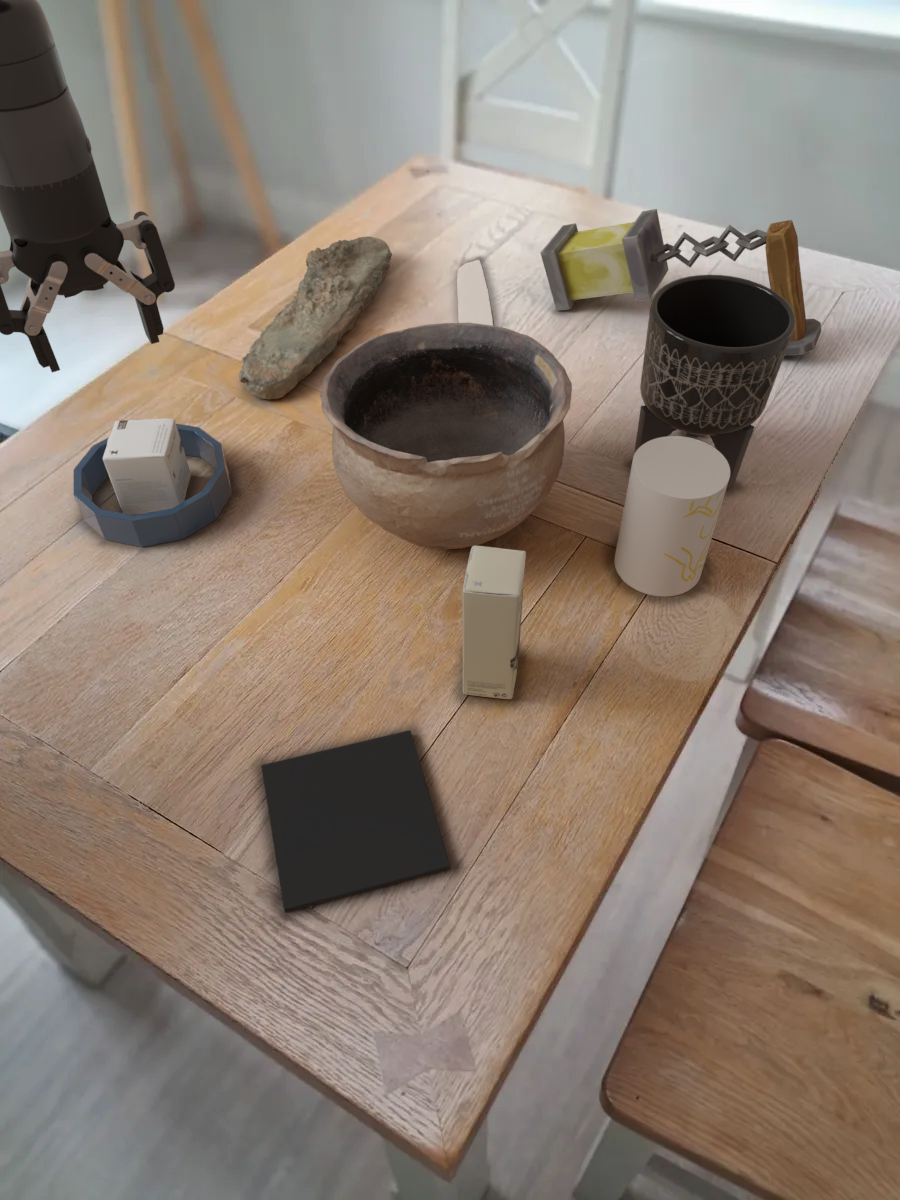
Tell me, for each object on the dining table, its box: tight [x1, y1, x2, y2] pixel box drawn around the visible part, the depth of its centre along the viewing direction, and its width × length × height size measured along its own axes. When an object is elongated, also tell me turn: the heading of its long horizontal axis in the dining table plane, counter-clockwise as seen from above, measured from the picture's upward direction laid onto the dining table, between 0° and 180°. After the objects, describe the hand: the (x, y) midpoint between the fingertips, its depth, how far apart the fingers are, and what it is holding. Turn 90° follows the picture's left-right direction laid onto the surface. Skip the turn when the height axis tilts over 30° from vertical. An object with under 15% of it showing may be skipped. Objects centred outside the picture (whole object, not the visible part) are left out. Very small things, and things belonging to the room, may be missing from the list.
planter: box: [633, 274, 796, 491], centre depth 88 cm, size 13×13×18 cm
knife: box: [456, 259, 494, 326], centre depth 112 cm, size 1×34×5 cm
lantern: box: [540, 208, 822, 357], centre depth 109 cm, size 8×17×30 cm
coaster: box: [260, 729, 451, 913], centre depth 68 cm, size 12×12×1 cm
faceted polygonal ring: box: [73, 423, 233, 548], centre depth 91 cm, size 15×15×4 cm
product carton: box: [103, 417, 192, 515], centre depth 89 cm, size 6×6×7 cm
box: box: [461, 545, 527, 700], centre depth 72 cm, size 5×4×13 cm
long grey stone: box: [238, 235, 393, 400], centre depth 112 cm, size 35×5×10 cm
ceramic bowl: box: [319, 322, 573, 550], centre depth 85 cm, size 22×22×15 cm
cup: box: [613, 435, 730, 598], centre depth 81 cm, size 8×8×12 cm
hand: (104, 352), depth 78 cm, fingers open, 8 cm apart
